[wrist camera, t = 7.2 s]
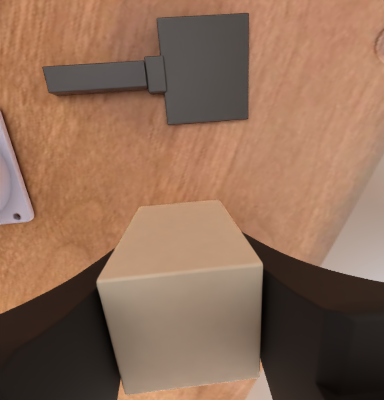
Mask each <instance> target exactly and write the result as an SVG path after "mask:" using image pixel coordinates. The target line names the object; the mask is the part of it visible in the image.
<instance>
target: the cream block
mask: <svg viewBox="0 0 384 400" xmlns="http://www.w3.org/2000/svg"><path fill="white" fill-rule="evenodd" d="M262 282H263V263H262V262H261V260H260V259H259V257H258V256H257V254H256V253H255V251H254V250H253V248H252V247H251V245H250V244H249V242H248V241H247V239H246V238H245V236H244V235H243V234H242V232H241V231H240V229H239V228H238V226H237V225H236V223H235V222H234V220H233V219H232V217H231V216H230V214H229V213H228V211H227V210H226V209H225V207H224V206H223V204H222V203H221V201H220V200H219V199H217V200H206V201H195V202H184V203H173V204H162V205H151V206H140V207H139V208H138V210H137V211H136V213H135V215H134V217H133V218H132V220H131V222H130V224H129V225H128V227H127V229H126V230H125V232H124V234H123V236H122V237H121V239H120V241H119V243H118V244H117V246H116V248H115V249H114V251H113V253H112V255H111V256H110V258H109V260H108V262H107V263H106V265H105V267H104V268H103V270H102V272H101V274H100V275H99V277H98V279H97V282H96V283H97V287H98V291H99V295H100V299H101V303H102V307H103V311H104V315H105V318H106V322H107V326H108V330H109V334H110V338H111V342H112V346H113V349H114V353H115V357H116V361H117V365H118V369H119V373H120V377H121V380H122V384H123V388H124V392H125V394H126V395H132V394H139V393H147V392H155V391H163V390H171V389H178V388H186V387H194V386H202V385H210V384H217V383H225V382H233V381H241V380H248V379H256V378H259V372H260V342H261V312H262Z"/></svg>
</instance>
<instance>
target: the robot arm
mask: <svg viewBox="0 0 384 400" xmlns="http://www.w3.org/2000/svg"><path fill="white" fill-rule="evenodd" d="M17 213H18V214H19V215H20V216H21V218H20V217H18V215H17ZM33 218H34V212H33V208H32V205H31V202H30V199H29V196H28V193H27V190H26V187H25V184H24V181H23V178H22V175H21V172H20V169H19V166H18V163H17V160H16V157H15V154H14V150H13V147H12V144H11V141H10V138H9V135H8V132H7V129H6V126H5V123H4V120H3V117H2V114H1V111H0V224H11V223H22V222H28V221H31V220H32V219H33ZM242 234H243V235H244V236H245V238H246V239H247V241H248V242H249V244H250V245H251V247H252V248H253V250H254V251H255V253H256V254H257V256H258V257H259V259H260V260H261V262H262V263H263V282H262V312H261V342H260V359H261V362H262V366H263V369H264V372H265V375H266V378H267V382H268V385H269V388H270V392H271V395H272V399H273V400H384V282H379V281H373V280H368V279H364V278H360V277H355V276H351V275H346V274H343V273H339V272H335V271H331V270H328V269H324V268H321V267H318V266H315V265H312V264H309V263H306V262H303V261H300V260H298V259H295V258H293V257H290V256H288V255H285V254H283V253H281V252H279V251H277V250H275V249H272V248H270V247H268V246H266V245H265V244H263V243H261V242H259V241H257V240H255V239H254V238H252V237H250V236H248V235H247V234H245V233H243V232H242ZM114 249H115V248H114ZM114 249H113V250H112V251H110V252H109V253H108V254H106V255H105V256H104V257H102V258H101V259H100V260H98V261H97V262H95V263H94V264H92V265H91V266H89V267H88V268H87V269H85V270H84V271H82V272H81V273H79V274H78V275H76V276H74V277H73V278H71V279H70V280H68V281H66V282H64V283H63V284H61V285H59V286H57V287H56V288H54V289H52V290H50V291H48V292H46V293H44V294H42V295H40V296H38V297H36V298H34V299H32V300H30V301H28V302H26V303H24V304H22V305H20V306H17V307H15V308H13V309H11V310H9V311H6V312H4V313H2V314H0V400H117V397H118V391H119V385H120V379H121V377H120V373H119V369H118V365H117V361H116V357H115V353H114V349H113V346H112V342H111V338H110V334H109V330H108V326H107V322H106V318H105V315H104V311H103V307H102V303H101V299H100V295H99V291H98V287H97V283H96V282H97V279H98V277H99V275H100V274H101V272H102V270H103V268H104V267H105V265H106V263H107V262H108V260H109V258H110V256H111V255H112V253H113V251H114Z"/></svg>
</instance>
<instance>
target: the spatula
mask: <svg viewBox="0 0 384 400" xmlns="http://www.w3.org/2000/svg"><path fill="white" fill-rule="evenodd" d="M157 27H158V36H159V46H160V55H161V56H149V57H144V59H145V62H144V61H128V62H112V63H95V64H79V65H63V66H47V67H42V68H43V72H44V76H45V79H46V83H47V87H48V91H49V93H52V94H54V95H57V96H58V95H73V94H88V93H103V92H117V91H132V90H147V89H148V92H149V93H150V94H161V93H164V94H165V104H166V113H167V123H168V125H175V124H188V123H202V122H215V121H228V120H241V119H248V57H249V13H240V14H221V15H203V16H184V17H165V18H157Z"/></svg>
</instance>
